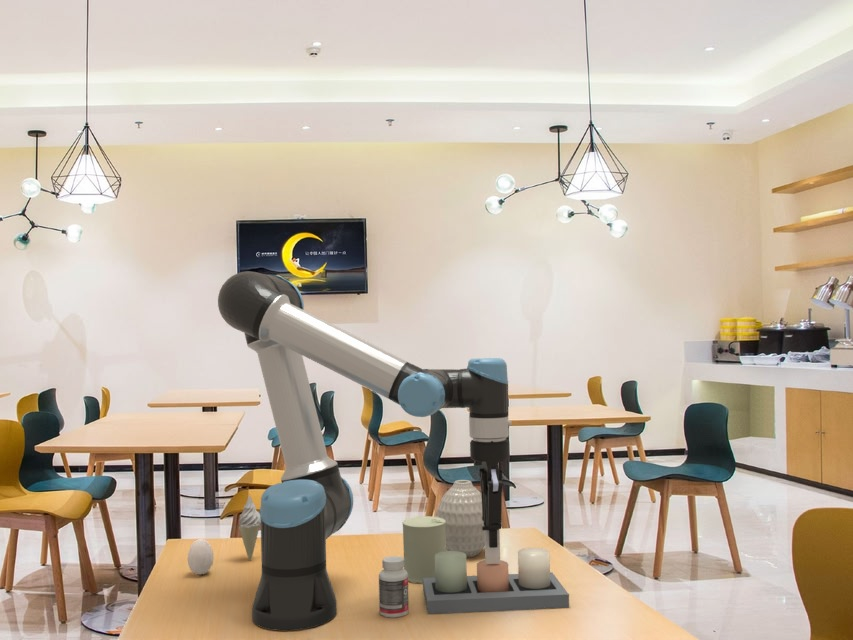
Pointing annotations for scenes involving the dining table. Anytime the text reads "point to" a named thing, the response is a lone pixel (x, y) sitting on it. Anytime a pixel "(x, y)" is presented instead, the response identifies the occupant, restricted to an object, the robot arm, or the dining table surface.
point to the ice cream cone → (249, 526)
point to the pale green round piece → (450, 571)
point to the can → (422, 546)
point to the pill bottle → (393, 588)
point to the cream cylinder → (534, 568)
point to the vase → (463, 518)
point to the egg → (200, 557)
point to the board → (494, 597)
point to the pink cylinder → (492, 577)
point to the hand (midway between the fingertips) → (492, 562)
